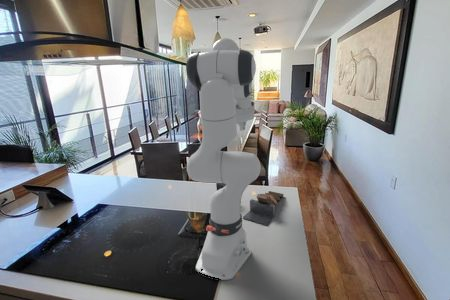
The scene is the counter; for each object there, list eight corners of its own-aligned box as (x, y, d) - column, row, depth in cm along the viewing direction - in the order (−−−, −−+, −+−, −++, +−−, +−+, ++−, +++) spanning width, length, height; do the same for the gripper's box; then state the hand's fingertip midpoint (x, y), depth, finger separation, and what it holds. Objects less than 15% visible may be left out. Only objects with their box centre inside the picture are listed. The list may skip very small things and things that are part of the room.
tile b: (279, 200, 127) (273, 197, 119) (271, 198, 130) (264, 195, 122) (280, 197, 128) (274, 194, 120) (271, 195, 130) (265, 192, 122)
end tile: (283, 196, 131) (277, 196, 123) (274, 195, 134) (268, 194, 126) (283, 194, 132) (277, 193, 123) (275, 192, 134) (268, 191, 126)
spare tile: (268, 199, 127) (262, 193, 119) (277, 201, 124) (271, 195, 117) (267, 202, 127) (261, 196, 119) (276, 204, 124) (270, 198, 116)
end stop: (266, 225, 106) (266, 213, 104) (243, 218, 112) (242, 207, 111) (274, 216, 113) (274, 204, 111) (251, 210, 119) (251, 199, 118)
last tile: (270, 210, 117) (266, 198, 111) (261, 208, 120) (256, 196, 114) (271, 208, 118) (267, 196, 112) (262, 205, 121) (257, 194, 115)
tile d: (273, 208, 120) (268, 198, 113) (263, 206, 123) (258, 196, 116) (274, 205, 121) (269, 195, 114) (265, 203, 124) (259, 193, 117)
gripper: (236, 106, 114) (237, 134, 118) (255, 102, 131) (256, 127, 134) (225, 106, 118) (227, 133, 122) (245, 102, 134) (246, 126, 138)
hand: (242, 130), depth 128 cm, fingers closed
